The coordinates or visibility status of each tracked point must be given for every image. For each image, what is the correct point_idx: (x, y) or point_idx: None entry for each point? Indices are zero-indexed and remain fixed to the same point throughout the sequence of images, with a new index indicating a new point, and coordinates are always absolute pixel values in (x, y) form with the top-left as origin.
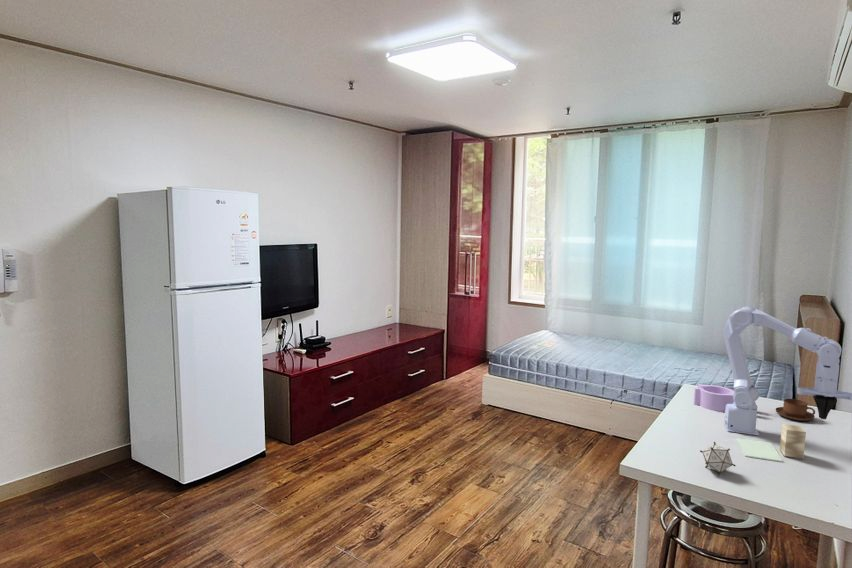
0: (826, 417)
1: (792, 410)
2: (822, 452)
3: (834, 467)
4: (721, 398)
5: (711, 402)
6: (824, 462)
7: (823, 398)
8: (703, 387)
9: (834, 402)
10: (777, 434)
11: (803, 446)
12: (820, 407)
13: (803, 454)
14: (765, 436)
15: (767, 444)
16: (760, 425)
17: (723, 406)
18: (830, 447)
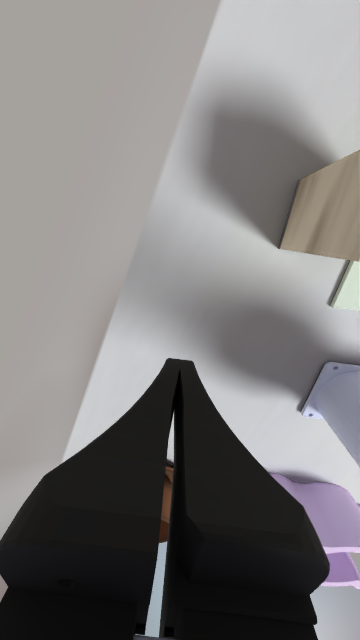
0: (166, 363)
1: (164, 496)
2: (188, 277)
3: (212, 127)
4: (346, 530)
5: (357, 513)
6: (226, 176)
7: (196, 587)
8: (357, 575)
9: (65, 489)
10: (256, 382)
11: (341, 161)
12: (222, 423)
13: (312, 173)
14: (304, 361)
15: (356, 289)
16: (268, 427)
17: (323, 500)
18: (145, 325)
